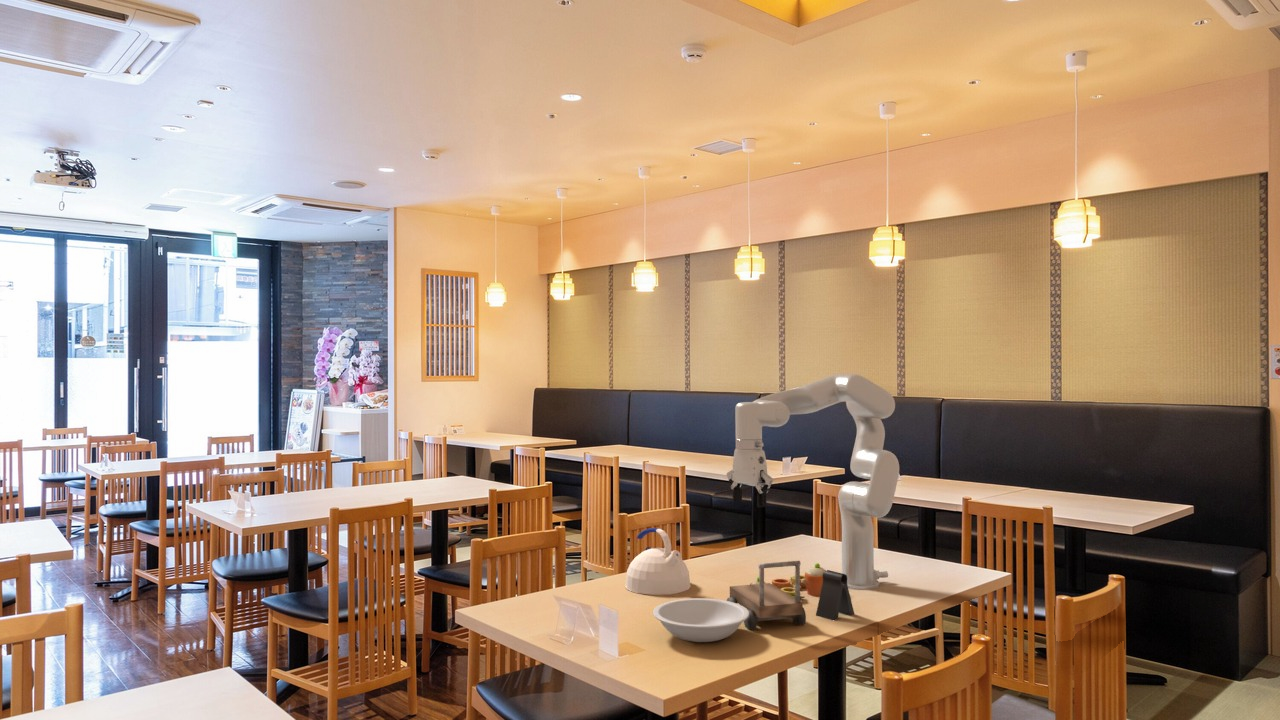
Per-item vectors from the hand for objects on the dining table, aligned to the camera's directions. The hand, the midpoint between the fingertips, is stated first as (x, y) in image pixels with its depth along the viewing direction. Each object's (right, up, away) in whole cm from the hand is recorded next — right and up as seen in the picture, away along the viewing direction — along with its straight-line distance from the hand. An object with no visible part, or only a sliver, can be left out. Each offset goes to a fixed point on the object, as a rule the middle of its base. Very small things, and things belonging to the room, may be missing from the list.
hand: (749, 504), depth 239 cm
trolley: (+2, -28, -17) cm, 33 cm away
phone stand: (+21, -28, -14) cm, 38 cm away
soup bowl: (-16, -28, -31) cm, 45 cm away
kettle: (-26, -29, +18) cm, 42 cm away
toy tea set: (+13, -29, +6) cm, 32 cm away
